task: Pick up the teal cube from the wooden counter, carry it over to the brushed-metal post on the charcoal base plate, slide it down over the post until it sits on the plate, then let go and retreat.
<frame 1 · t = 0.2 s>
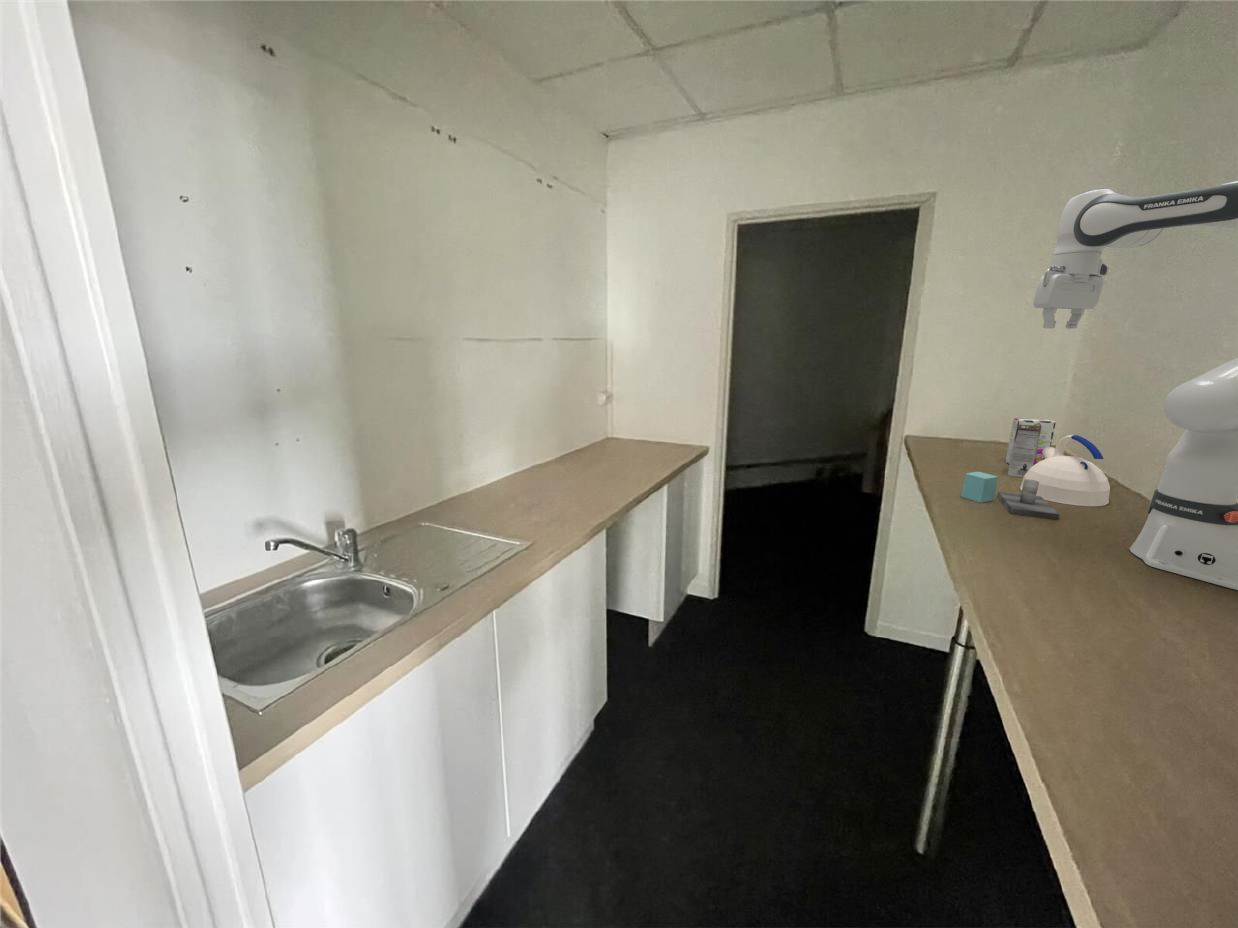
hand: (1060, 328, 126), 47 cm above the table, fingers open, 8 cm apart
kettle: (1061, 496, 153), on the table
candy bar box: (1024, 465, 186), on the table
coffee box: (1019, 474, 175), on the table
post stand: (1025, 507, 142), on the table
teal cube: (977, 498, 149), on the table
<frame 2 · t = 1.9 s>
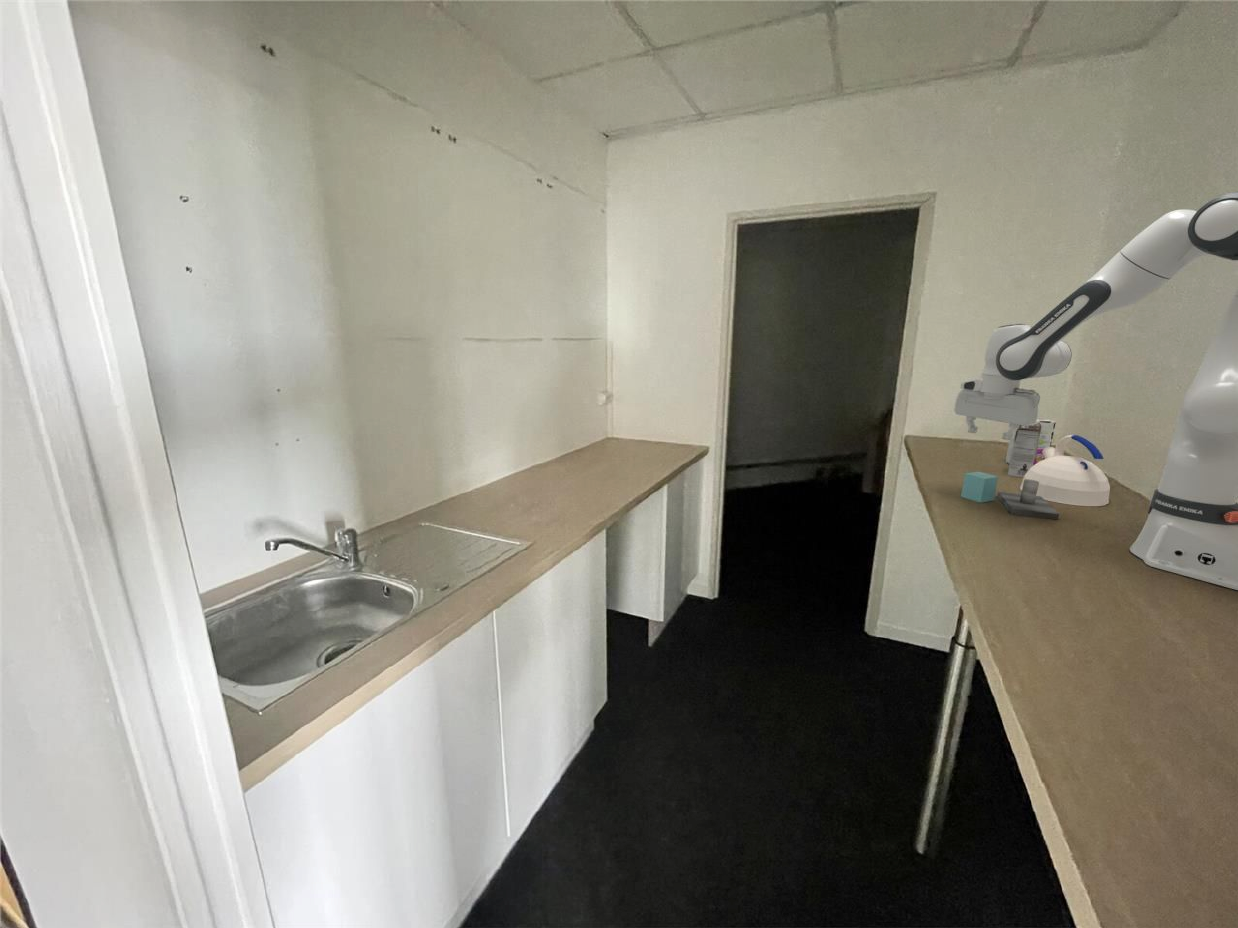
hand: (988, 436, 145), 18 cm above the table, fingers open, 8 cm apart
nothing on the table moved.
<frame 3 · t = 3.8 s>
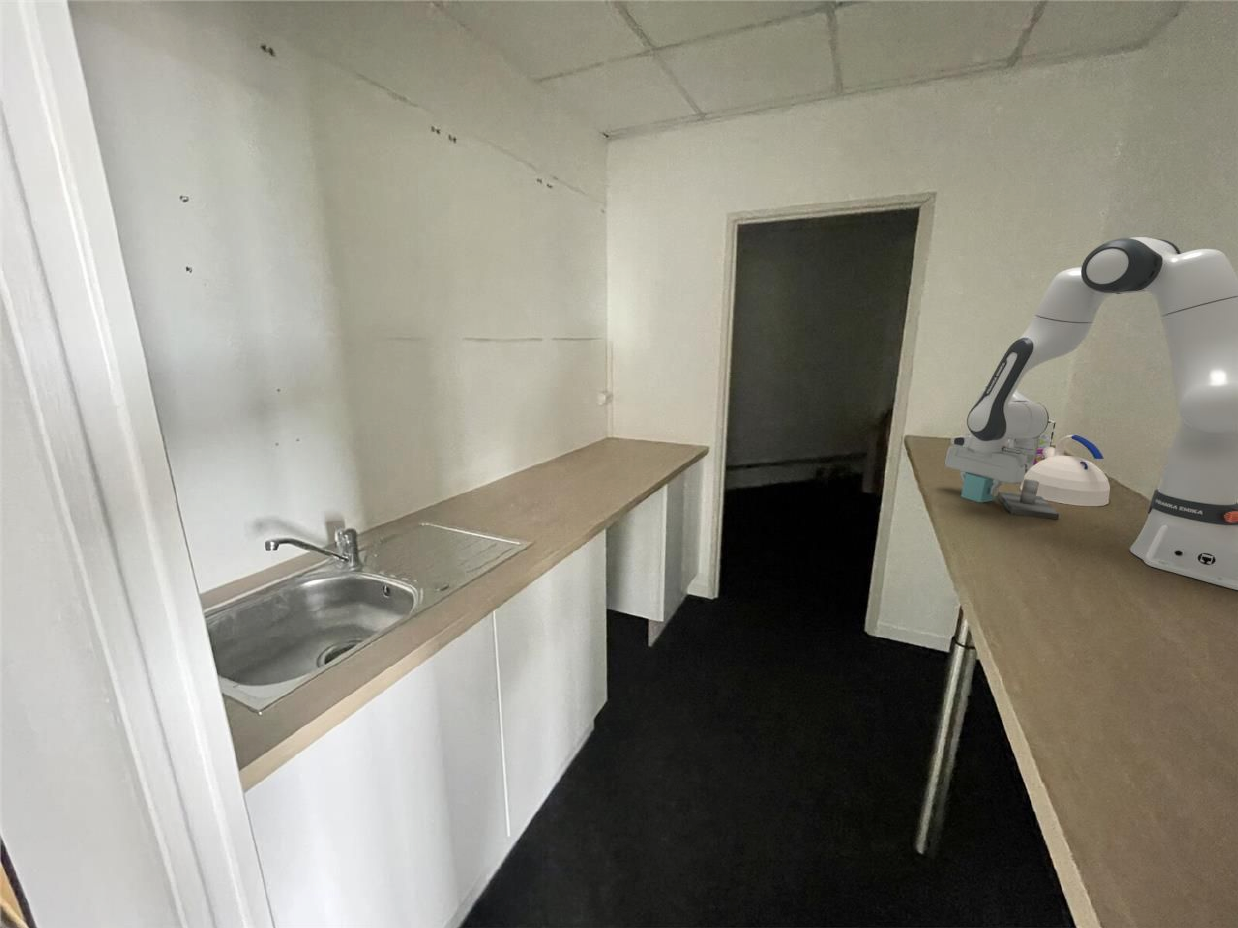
hand: (978, 490, 149), 2 cm above the table, fingers closed on teal cube, 6 cm apart
teal cube: (977, 498, 149), on the table, touching gripper
everything else where it was.
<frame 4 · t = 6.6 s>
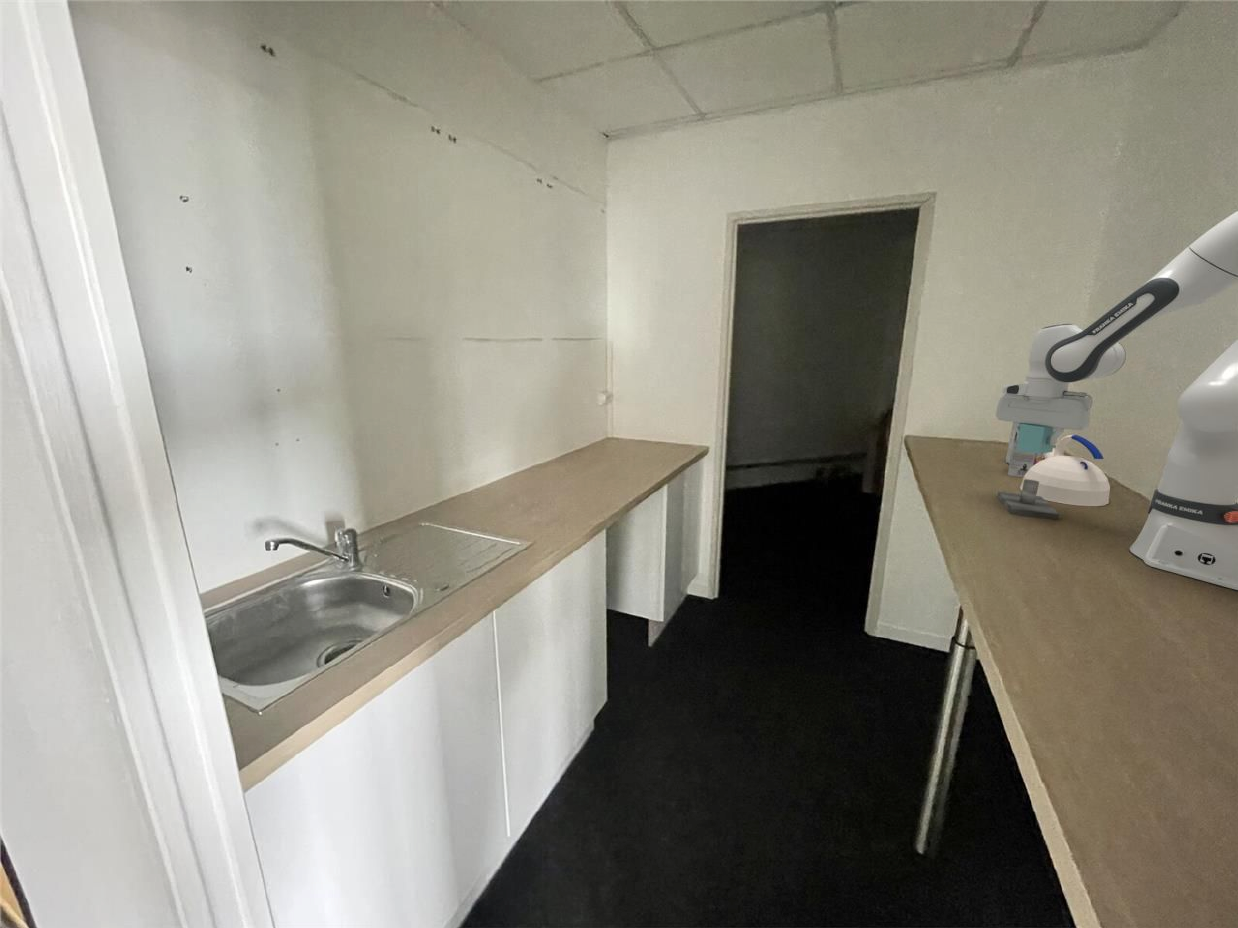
hand: (1035, 441, 138), 18 cm above the table, fingers closed on teal cube, 6 cm apart
teal cube: (1034, 450, 138), point 16 cm above the table, touching gripper
everything else where it was.
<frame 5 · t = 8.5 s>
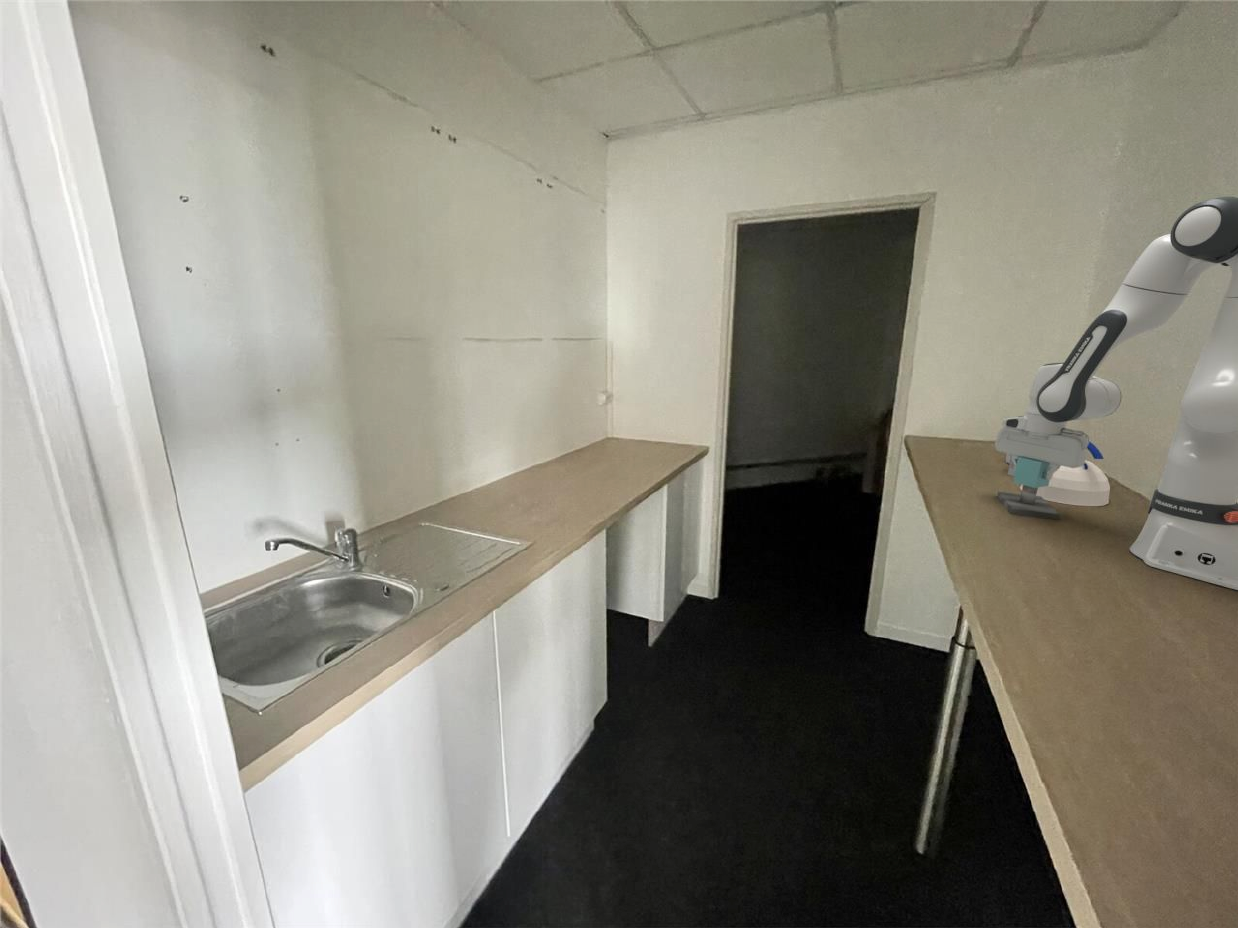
hand: (1032, 475, 140), 9 cm above the table, fingers closed on teal cube, 6 cm apart
teal cube: (1030, 483, 141), point 7 cm above the table, touching gripper
everything else where it was.
when the fingers open (5 cm above the table, at t = 9.9 s): teal cube stays where it is, resting on post stand.
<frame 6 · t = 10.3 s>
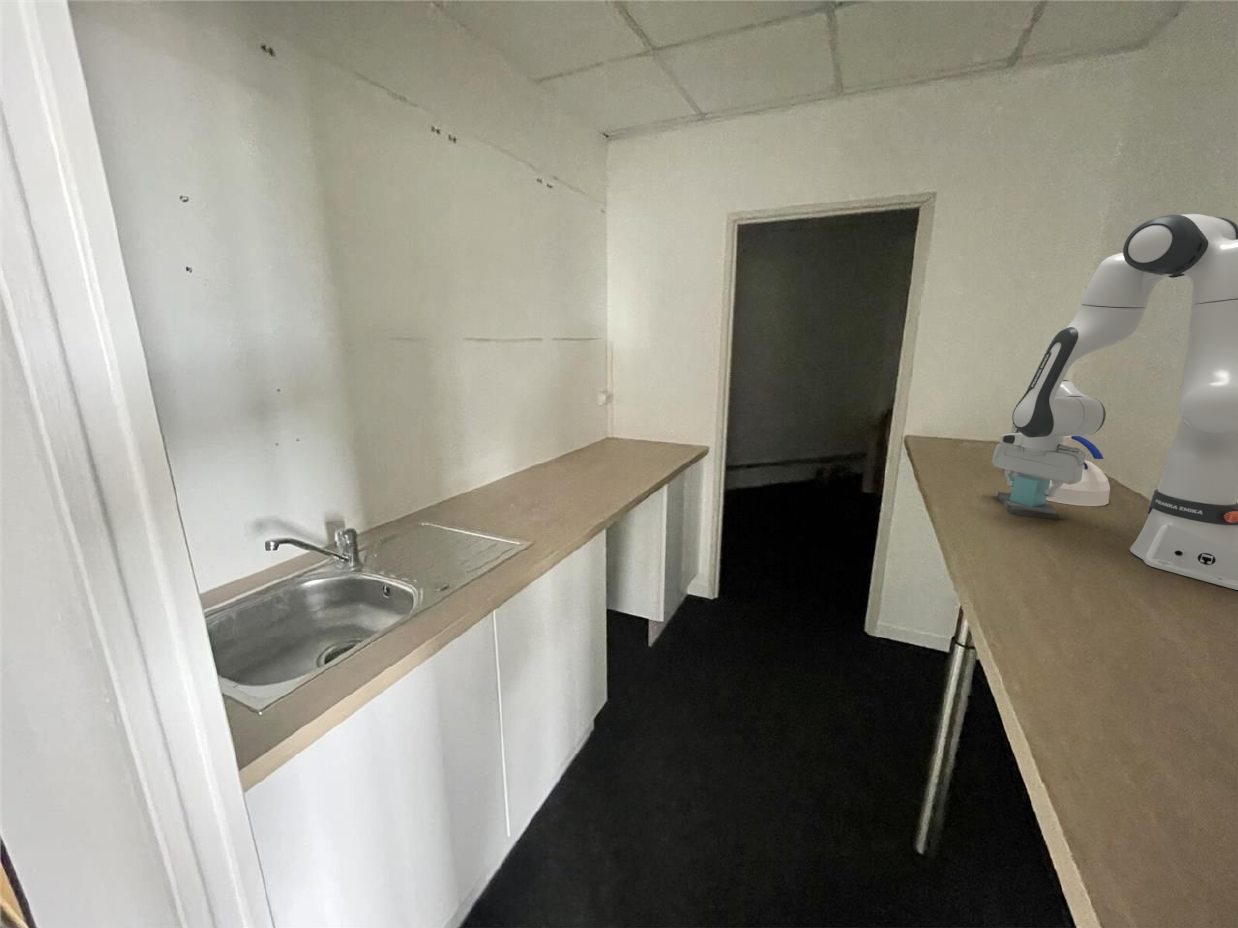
hand: (1029, 491, 141), 5 cm above the table, fingers open, 8 cm apart
teal cube: (1027, 502, 142), point 1 cm above the table, touching post stand
everything else where it was.
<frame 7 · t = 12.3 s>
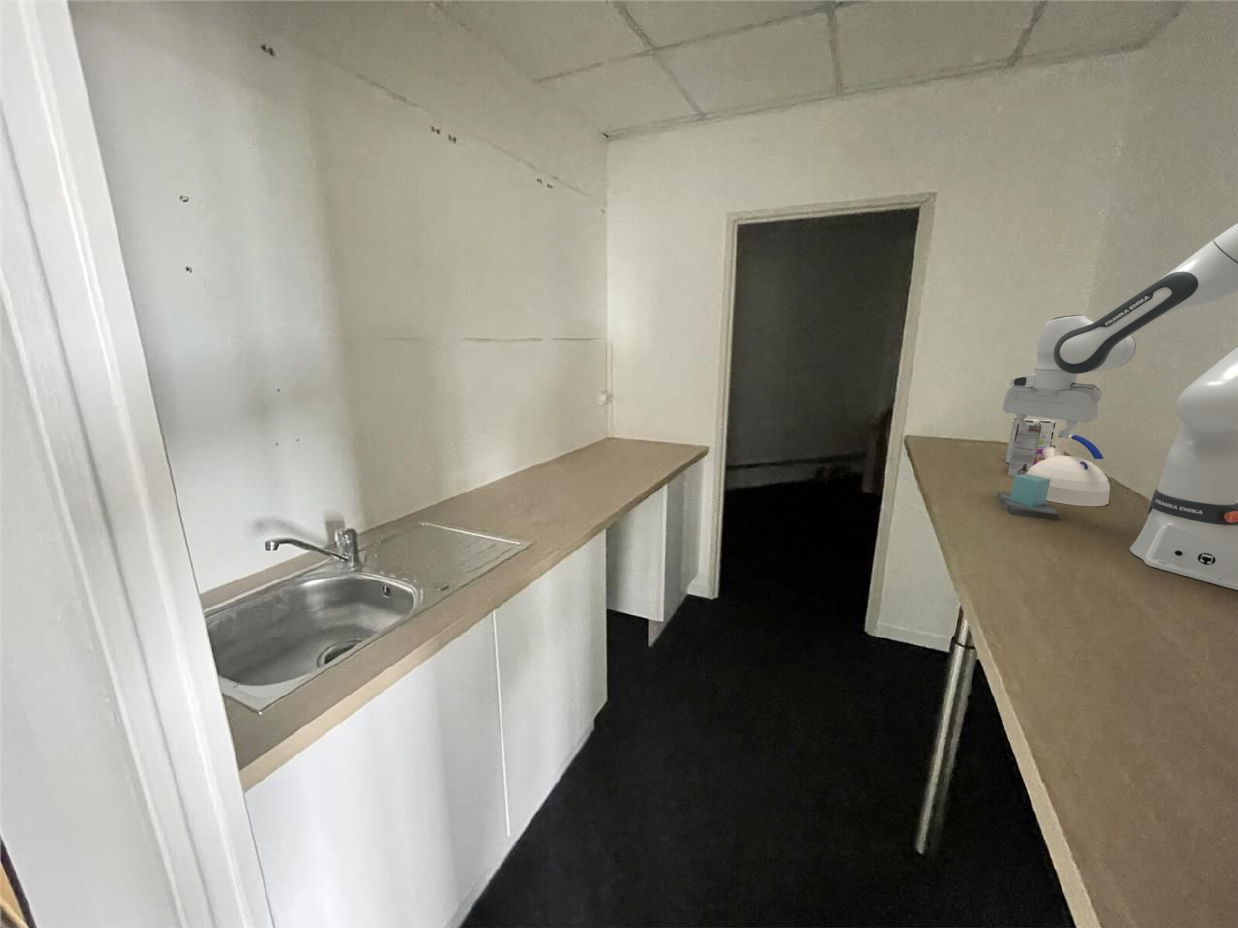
hand: (1042, 434, 137), 20 cm above the table, fingers open, 8 cm apart
nothing on the table moved.
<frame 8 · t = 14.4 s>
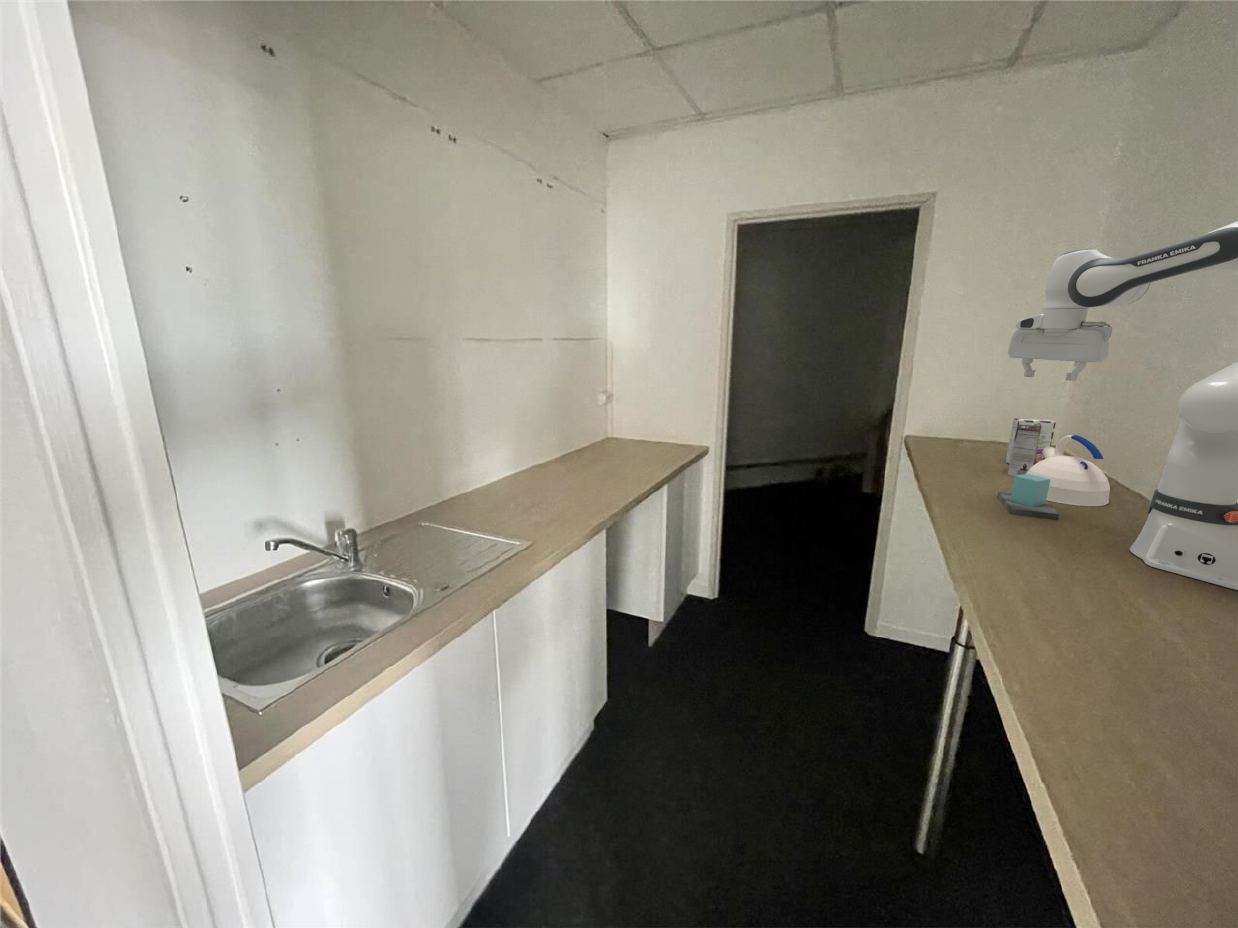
hand: (1049, 378, 131), 35 cm above the table, fingers open, 8 cm apart
nothing on the table moved.
at the end: teal cube 0.0 cm from the post stand (horizontally); teal cube point 1.5 cm above the table; teal cube tilted 0° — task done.
